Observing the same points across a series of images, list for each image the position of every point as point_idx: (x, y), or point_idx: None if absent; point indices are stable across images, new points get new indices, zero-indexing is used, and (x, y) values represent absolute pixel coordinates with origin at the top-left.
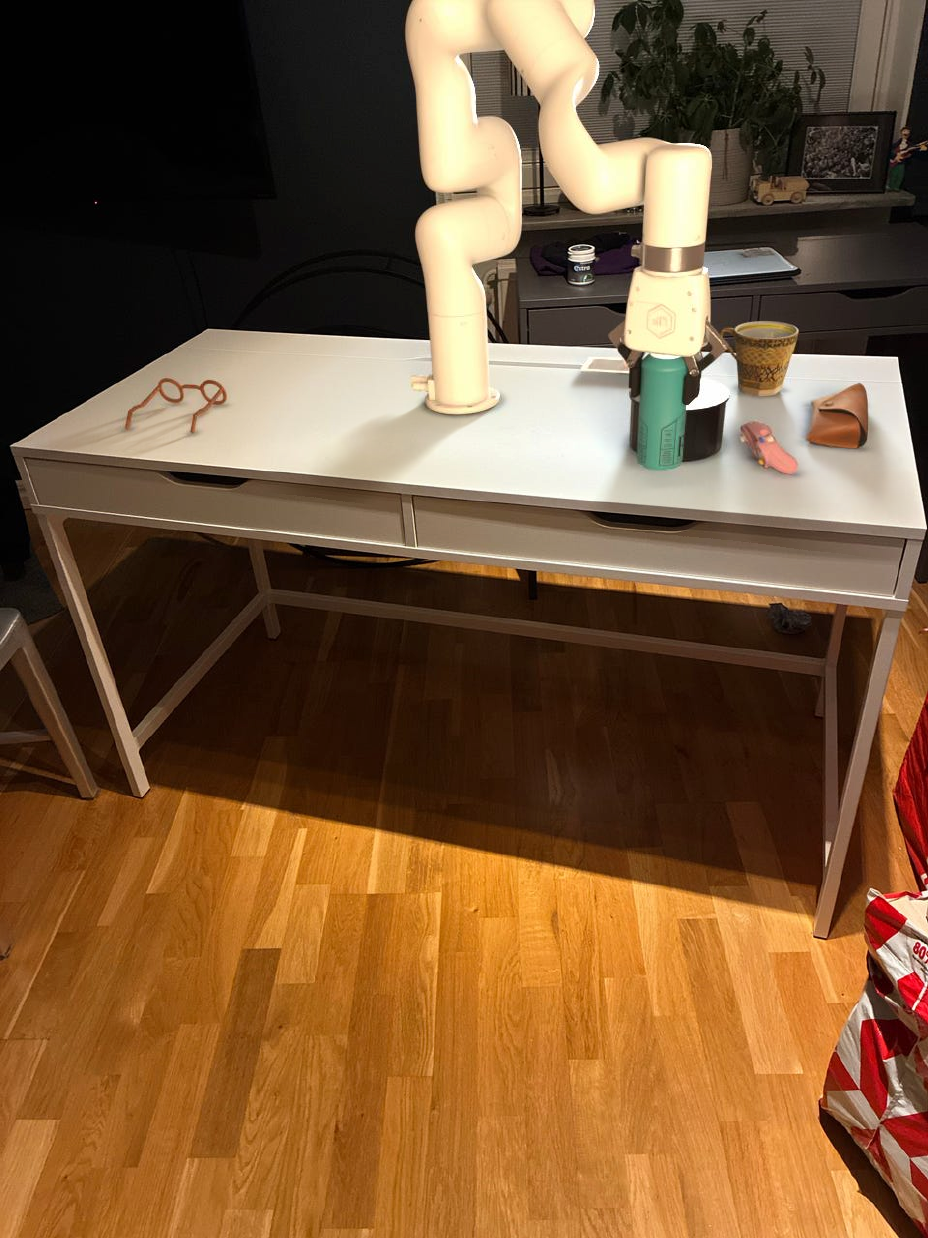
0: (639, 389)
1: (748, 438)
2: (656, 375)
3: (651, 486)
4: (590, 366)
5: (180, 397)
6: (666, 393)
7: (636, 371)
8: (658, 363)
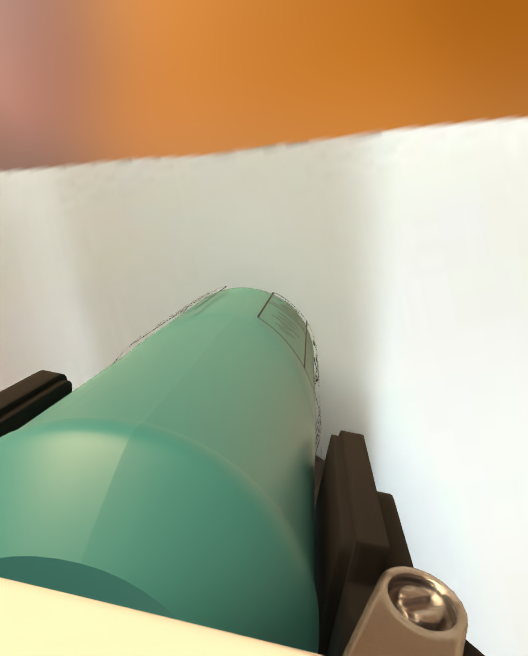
0: (323, 487)
1: None
2: (145, 408)
3: (256, 273)
4: None
5: None
6: (121, 365)
7: (348, 531)
8: (98, 495)
